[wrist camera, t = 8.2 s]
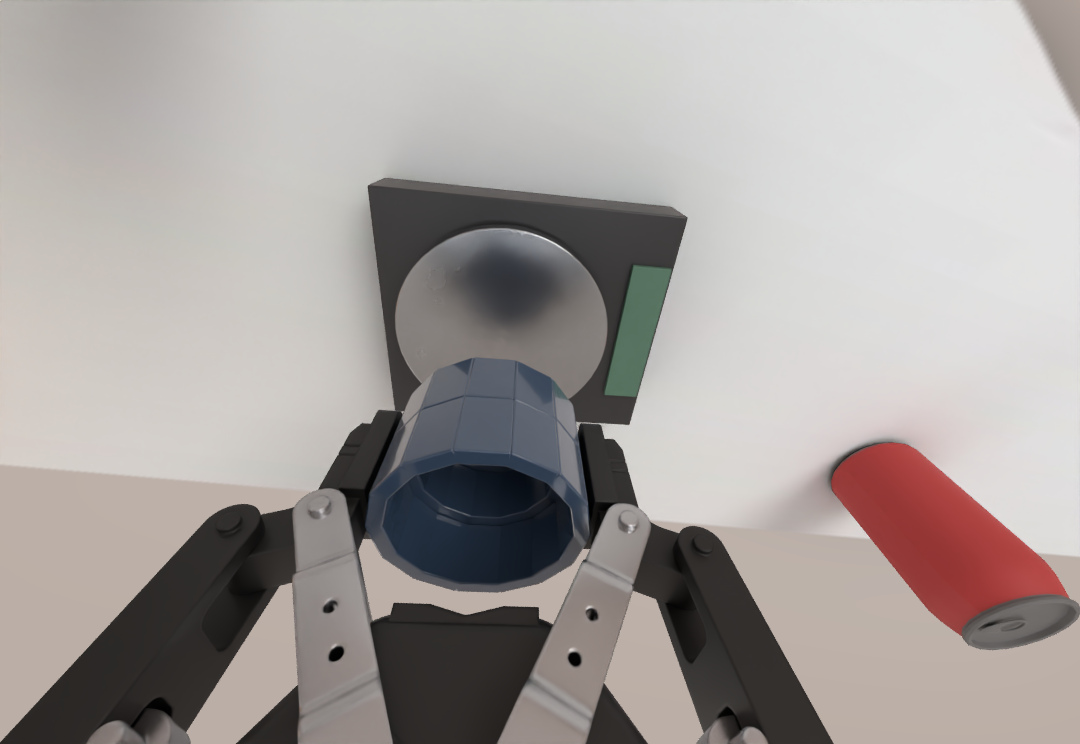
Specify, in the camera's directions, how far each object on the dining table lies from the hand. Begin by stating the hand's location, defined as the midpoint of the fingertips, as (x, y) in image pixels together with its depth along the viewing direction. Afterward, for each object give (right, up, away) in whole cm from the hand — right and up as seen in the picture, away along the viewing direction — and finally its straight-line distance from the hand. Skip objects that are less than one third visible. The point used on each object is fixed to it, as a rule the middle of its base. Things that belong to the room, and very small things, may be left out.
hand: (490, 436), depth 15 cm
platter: (0, +5, +7) cm, 8 cm away
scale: (+1, +6, +10) cm, 11 cm away
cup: (0, +1, +1) cm, 1 cm away
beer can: (+29, -5, +18) cm, 34 cm away
